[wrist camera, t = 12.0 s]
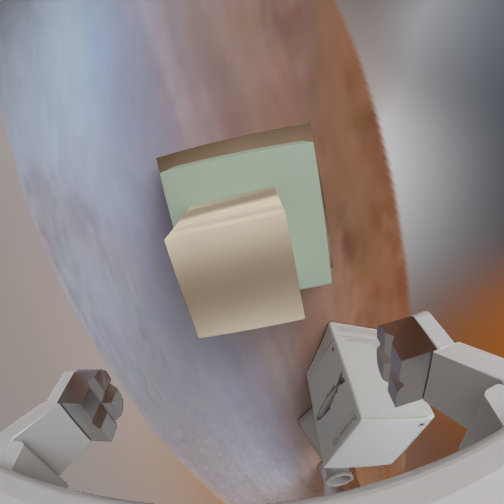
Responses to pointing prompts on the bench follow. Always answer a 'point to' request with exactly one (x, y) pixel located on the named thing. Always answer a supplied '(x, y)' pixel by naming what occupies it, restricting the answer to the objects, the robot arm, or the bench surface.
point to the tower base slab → (244, 144)
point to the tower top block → (257, 178)
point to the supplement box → (358, 402)
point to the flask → (333, 474)
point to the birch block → (236, 264)
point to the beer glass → (345, 487)
